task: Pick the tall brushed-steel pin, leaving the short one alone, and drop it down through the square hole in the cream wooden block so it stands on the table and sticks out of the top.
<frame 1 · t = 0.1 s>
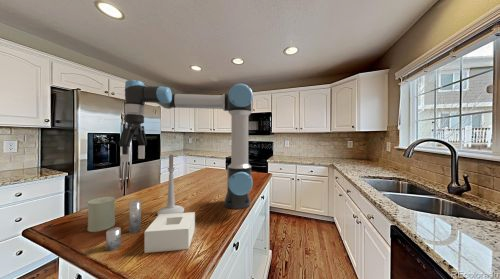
hand: (134, 160, 83), 28 cm above the countertop, tool pointing down, fingers open, 13 cm apart
hole block: (172, 239, 67), on the countertop
short pin: (113, 247, 62), on the countertop
long pin: (135, 230, 73), on the countertop
can: (101, 227, 77), on the countertop
candlestick: (171, 212, 92), on the countertop
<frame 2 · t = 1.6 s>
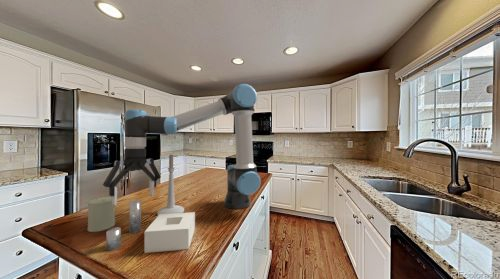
hand: (134, 199, 73), 13 cm above the countertop, tool pointing down, fingers open, 13 cm apart
nothing on the countertop moved.
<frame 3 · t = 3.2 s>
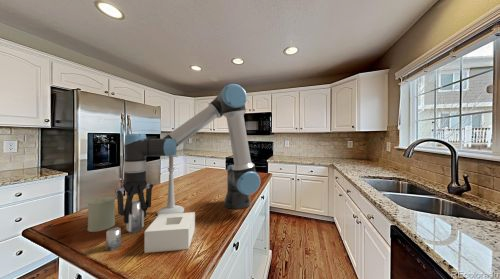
hand: (135, 228, 73), 1 cm above the countertop, tool pointing down, fingers closed on long pin, 4 cm apart
long pin: (135, 230, 73), on the countertop, touching gripper
everything else where it was.
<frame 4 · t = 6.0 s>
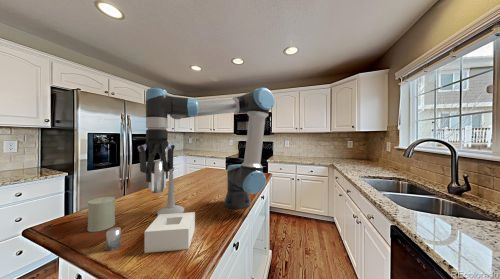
hand: (157, 188, 70), 18 cm above the countertop, tool pointing down, fingers closed on long pin, 4 cm apart
long pin: (157, 191, 70), point 17 cm above the countertop, touching gripper
everything else where it was.
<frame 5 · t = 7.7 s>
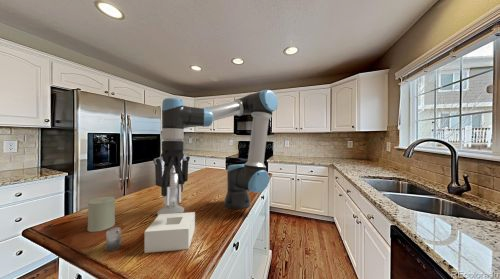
hand: (172, 202, 67), 14 cm above the countertop, tool pointing down, fingers closed on long pin, 4 cm apart
long pin: (172, 205, 67), point 13 cm above the countertop, touching gripper
everything else where it was.
when the fingers open (10 cm above the countertop, at t = 8.9 s): long pin drops 8 cm, resting in hole block.
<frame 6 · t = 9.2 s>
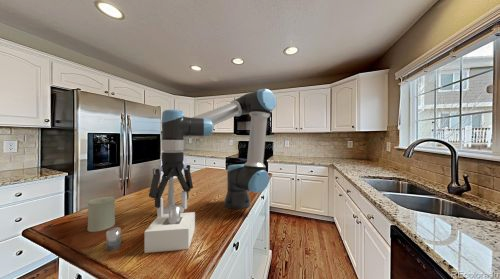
hand: (172, 211, 67), 10 cm above the countertop, tool pointing down, fingers open, 9 cm apart
long pin: (173, 238, 67), resting in hole block
everything else where it was.
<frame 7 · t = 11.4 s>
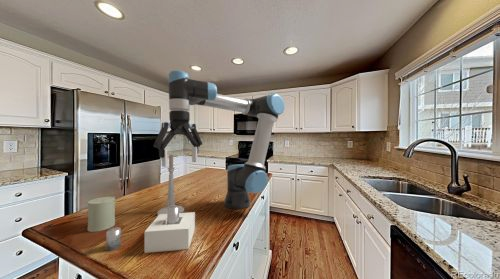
hand: (180, 164, 72), 28 cm above the countertop, tool pointing down, fingers open, 13 cm apart
nothing on the countertop moved.
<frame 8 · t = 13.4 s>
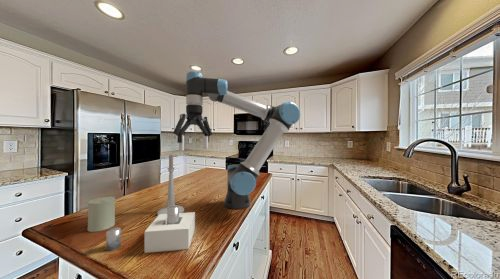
hand: (194, 149, 85), 33 cm above the countertop, tool pointing down, fingers open, 13 cm apart
nothing on the countertop moved.
at the end: long pin 0.1 cm off-centre on the hole block, point 0.0 cm above the hole block's base; long pin tilted 0°; short pin moved 0.0 cm from its start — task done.
